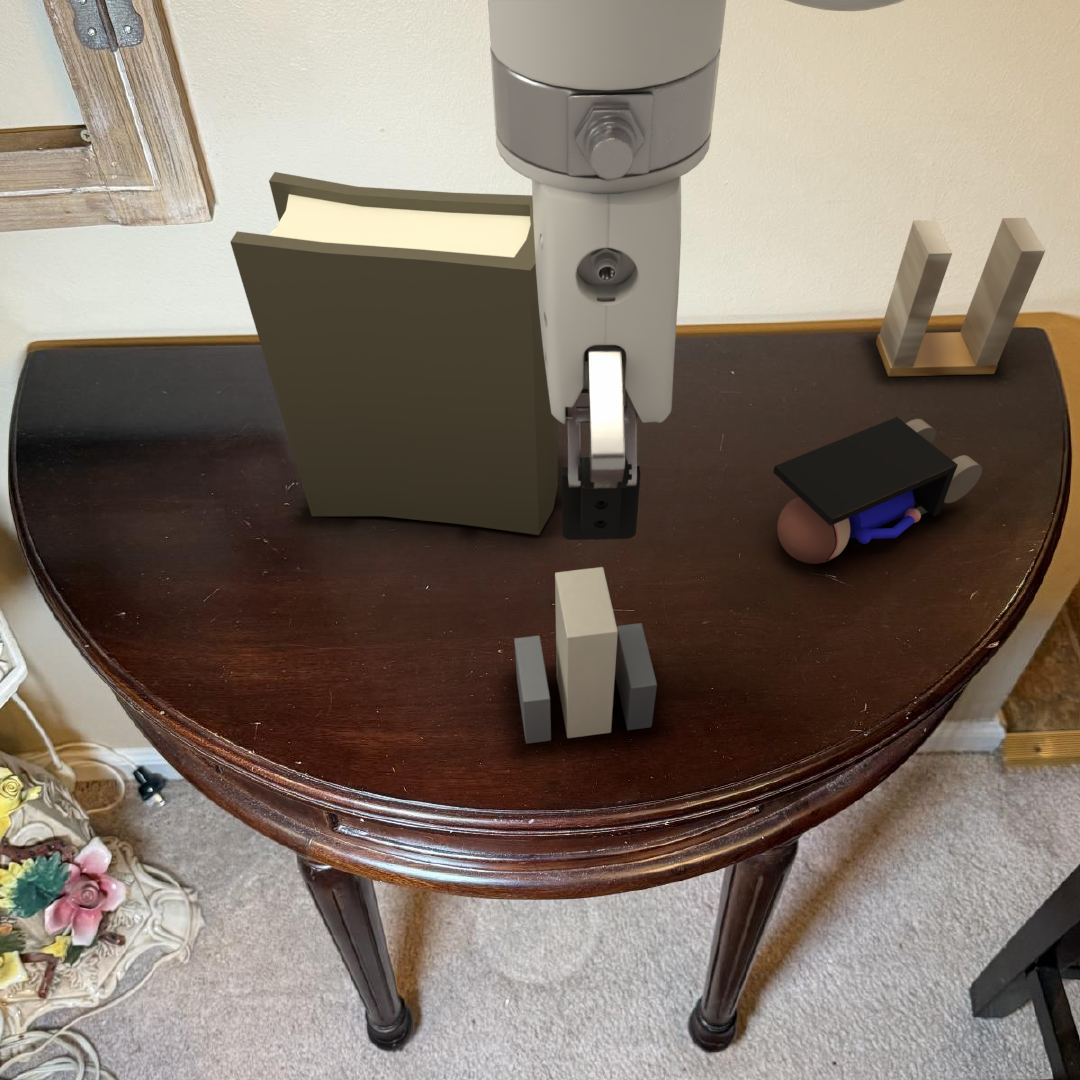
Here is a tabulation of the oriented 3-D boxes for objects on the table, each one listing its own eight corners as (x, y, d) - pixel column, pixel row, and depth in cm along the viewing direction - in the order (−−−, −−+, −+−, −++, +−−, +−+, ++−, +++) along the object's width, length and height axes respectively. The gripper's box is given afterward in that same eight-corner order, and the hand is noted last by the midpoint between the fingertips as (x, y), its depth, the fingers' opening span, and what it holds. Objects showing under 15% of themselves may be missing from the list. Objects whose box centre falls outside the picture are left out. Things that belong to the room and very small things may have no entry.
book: (562, 465, 77) (561, 189, 59) (548, 540, 72) (542, 263, 54) (340, 444, 79) (274, 171, 61) (311, 516, 74) (230, 241, 56)
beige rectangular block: (598, 671, 64) (603, 566, 56) (611, 733, 61) (618, 631, 53) (556, 677, 64) (554, 572, 56) (567, 738, 61) (567, 637, 53)
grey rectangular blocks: (637, 666, 64) (641, 622, 61) (651, 727, 61) (657, 684, 58) (517, 681, 64) (513, 638, 60) (525, 744, 61) (523, 702, 57)
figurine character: (895, 473, 77) (748, 532, 71) (930, 397, 72) (774, 454, 66) (958, 527, 73) (808, 595, 67) (1000, 451, 68) (841, 517, 62)
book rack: (977, 340, 86) (1026, 217, 77) (994, 374, 83) (1047, 250, 74) (875, 342, 86) (911, 220, 77) (887, 376, 83) (927, 253, 74)
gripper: (751, 235, 28) (693, 601, 40) (687, -6, 39) (658, 341, 52) (485, 241, 28) (512, 604, 41) (499, -1, 39) (517, 344, 52)
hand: (594, 456), depth 46 cm, fingers open, 9 cm apart
